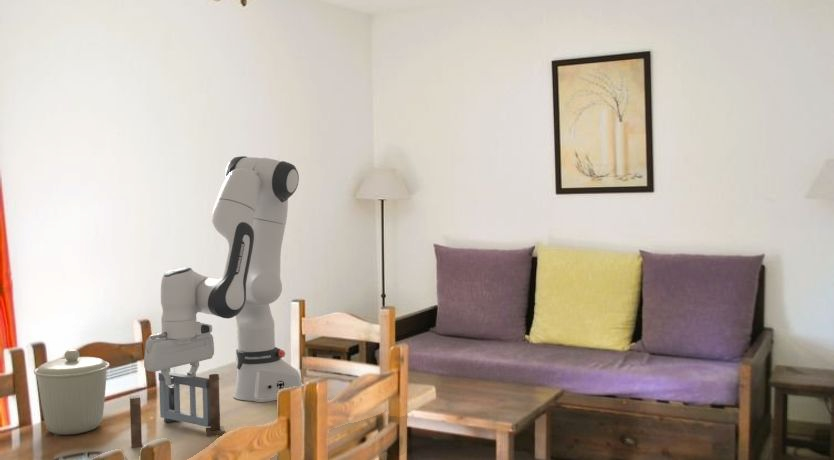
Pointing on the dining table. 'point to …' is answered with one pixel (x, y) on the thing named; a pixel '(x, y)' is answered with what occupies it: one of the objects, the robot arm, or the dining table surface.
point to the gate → (193, 383)
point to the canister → (72, 393)
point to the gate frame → (212, 431)
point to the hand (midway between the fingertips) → (180, 381)
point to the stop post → (171, 404)
